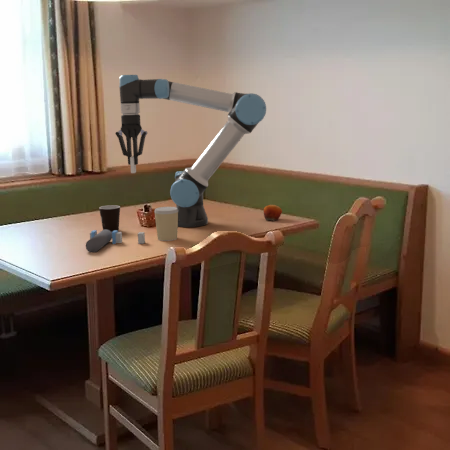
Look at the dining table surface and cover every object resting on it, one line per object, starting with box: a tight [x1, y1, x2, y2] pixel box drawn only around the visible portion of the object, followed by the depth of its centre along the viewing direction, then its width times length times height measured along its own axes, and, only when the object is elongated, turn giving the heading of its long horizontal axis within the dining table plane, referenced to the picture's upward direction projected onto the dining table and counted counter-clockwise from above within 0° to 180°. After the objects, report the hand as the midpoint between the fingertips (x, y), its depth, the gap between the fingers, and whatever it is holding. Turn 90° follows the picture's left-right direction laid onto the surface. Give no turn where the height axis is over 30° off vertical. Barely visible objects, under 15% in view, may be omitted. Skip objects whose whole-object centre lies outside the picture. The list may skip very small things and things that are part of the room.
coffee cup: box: [154, 206, 179, 242], centre depth 261 cm, size 9×9×12 cm
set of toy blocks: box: [89, 229, 146, 245], centre depth 256 cm, size 21×3×5 cm, turn 82°
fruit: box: [263, 204, 283, 222], centre depth 292 cm, size 8×8×8 cm
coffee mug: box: [98, 204, 121, 232], centre depth 279 cm, size 12×9×10 cm
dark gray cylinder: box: [85, 229, 112, 253], centre depth 251 cm, size 5×17×5 cm, turn 172°
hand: (133, 172), depth 272 cm, fingers closed
